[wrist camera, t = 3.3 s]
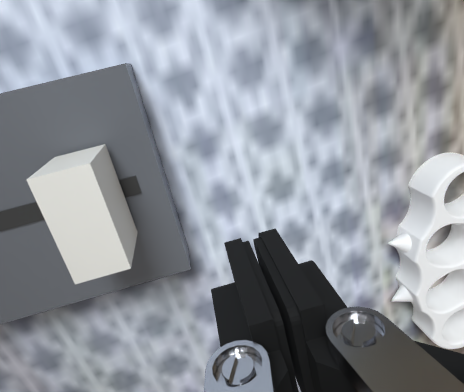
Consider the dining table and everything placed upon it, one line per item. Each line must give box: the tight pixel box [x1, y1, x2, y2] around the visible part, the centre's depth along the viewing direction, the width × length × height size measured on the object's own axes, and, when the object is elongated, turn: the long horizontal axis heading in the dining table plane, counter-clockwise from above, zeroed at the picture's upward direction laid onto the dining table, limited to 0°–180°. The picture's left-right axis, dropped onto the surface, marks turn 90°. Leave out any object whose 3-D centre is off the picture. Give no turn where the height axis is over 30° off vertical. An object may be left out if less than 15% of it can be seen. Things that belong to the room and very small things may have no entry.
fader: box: [27, 144, 138, 284], centre depth 20 cm, size 6×3×4 cm, turn 13°
